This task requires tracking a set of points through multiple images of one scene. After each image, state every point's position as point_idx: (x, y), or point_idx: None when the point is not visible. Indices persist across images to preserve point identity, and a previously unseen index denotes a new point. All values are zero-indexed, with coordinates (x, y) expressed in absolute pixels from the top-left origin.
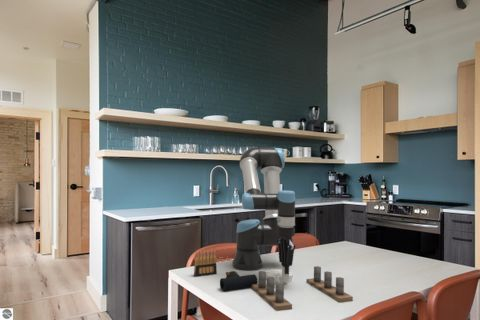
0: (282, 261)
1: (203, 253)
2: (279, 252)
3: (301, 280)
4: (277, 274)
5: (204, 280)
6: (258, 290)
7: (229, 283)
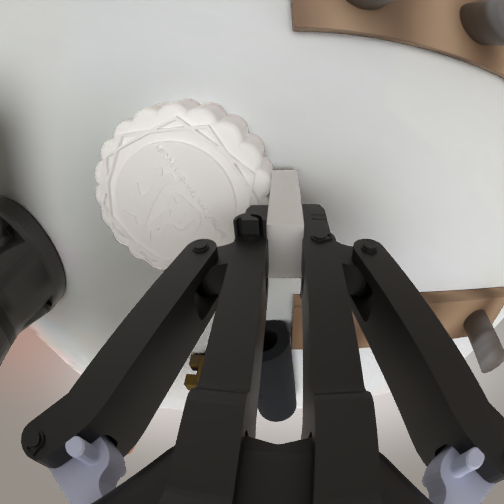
0: (266, 301)
1: None
2: (175, 365)
3: (238, 42)
4: (225, 235)
5: (183, 393)
6: (364, 347)
7: (294, 404)
